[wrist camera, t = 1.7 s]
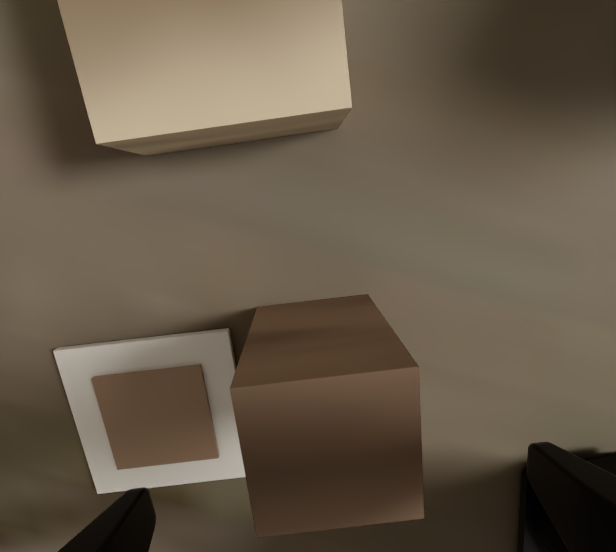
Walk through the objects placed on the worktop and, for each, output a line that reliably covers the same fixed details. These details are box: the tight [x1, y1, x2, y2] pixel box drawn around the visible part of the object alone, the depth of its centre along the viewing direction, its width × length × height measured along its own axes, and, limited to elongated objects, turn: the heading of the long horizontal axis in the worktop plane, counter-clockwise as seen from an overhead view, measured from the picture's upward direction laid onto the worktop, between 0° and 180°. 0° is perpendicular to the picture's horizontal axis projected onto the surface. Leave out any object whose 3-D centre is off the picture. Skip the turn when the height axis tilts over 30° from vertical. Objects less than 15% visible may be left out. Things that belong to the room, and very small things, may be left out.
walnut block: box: [230, 294, 424, 538], centre depth 12 cm, size 4×4×6 cm
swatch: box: [53, 328, 246, 494], centre depth 15 cm, size 7×7×1 cm
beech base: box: [57, 0, 352, 156], centre depth 10 cm, size 7×7×4 cm
